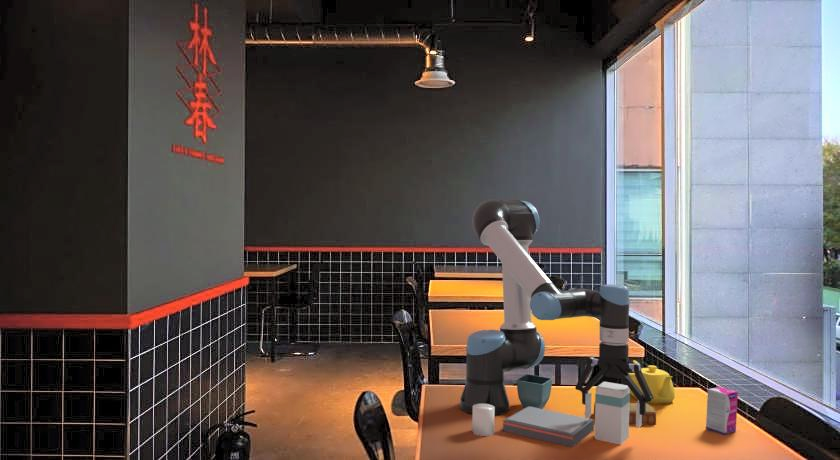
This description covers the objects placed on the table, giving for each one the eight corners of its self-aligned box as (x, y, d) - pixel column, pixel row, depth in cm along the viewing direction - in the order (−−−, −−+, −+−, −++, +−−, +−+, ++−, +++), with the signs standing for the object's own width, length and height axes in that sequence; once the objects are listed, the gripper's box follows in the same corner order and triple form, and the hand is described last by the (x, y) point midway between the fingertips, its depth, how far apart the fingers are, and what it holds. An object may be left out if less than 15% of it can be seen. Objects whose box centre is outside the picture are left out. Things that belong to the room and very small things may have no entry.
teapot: (609, 390, 214) (609, 359, 214) (649, 388, 217) (650, 357, 217) (645, 410, 192) (645, 375, 192) (689, 407, 195) (690, 373, 195)
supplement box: (725, 435, 171) (726, 393, 170) (705, 428, 176) (706, 388, 175) (737, 431, 174) (738, 391, 174) (717, 425, 179) (718, 385, 179)
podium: (502, 431, 171) (502, 419, 171) (527, 416, 184) (527, 405, 184) (572, 447, 160) (572, 434, 160) (593, 430, 173) (593, 418, 173)
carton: (656, 426, 179) (656, 411, 178) (599, 424, 180) (599, 409, 180) (647, 416, 187) (648, 402, 187) (593, 414, 188) (593, 400, 188)
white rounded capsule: (468, 433, 170) (468, 407, 169) (478, 427, 174) (479, 402, 174) (487, 437, 166) (488, 411, 166) (498, 431, 171) (498, 406, 171)
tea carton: (594, 439, 166) (595, 387, 166) (603, 431, 172) (604, 381, 172) (621, 444, 162) (622, 391, 162) (628, 437, 168) (630, 385, 168)
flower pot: (542, 413, 187) (542, 384, 187) (515, 408, 192) (515, 379, 191) (552, 406, 194) (553, 378, 194) (526, 401, 199) (526, 373, 199)
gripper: (564, 339, 171) (563, 416, 171) (658, 350, 157) (657, 434, 157) (574, 335, 177) (573, 409, 177) (665, 346, 163) (664, 426, 163)
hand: (612, 421), depth 167 cm, fingers open, 13 cm apart
